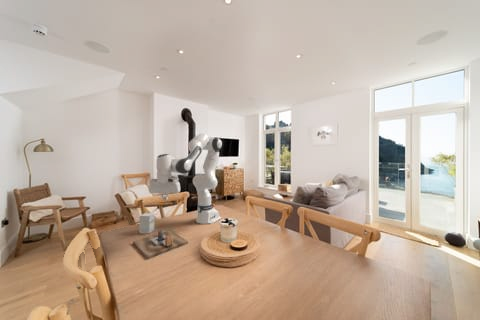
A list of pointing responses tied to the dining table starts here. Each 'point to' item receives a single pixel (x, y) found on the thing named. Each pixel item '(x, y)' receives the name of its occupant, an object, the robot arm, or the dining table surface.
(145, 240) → the walnut board
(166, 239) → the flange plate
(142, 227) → the supplement box
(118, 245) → the dining table surface
